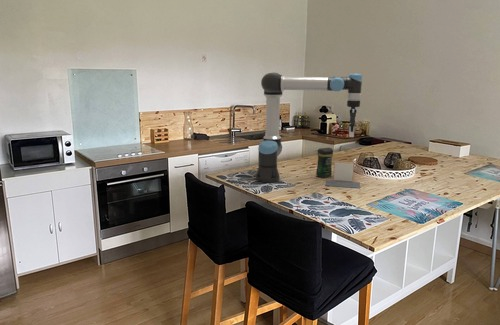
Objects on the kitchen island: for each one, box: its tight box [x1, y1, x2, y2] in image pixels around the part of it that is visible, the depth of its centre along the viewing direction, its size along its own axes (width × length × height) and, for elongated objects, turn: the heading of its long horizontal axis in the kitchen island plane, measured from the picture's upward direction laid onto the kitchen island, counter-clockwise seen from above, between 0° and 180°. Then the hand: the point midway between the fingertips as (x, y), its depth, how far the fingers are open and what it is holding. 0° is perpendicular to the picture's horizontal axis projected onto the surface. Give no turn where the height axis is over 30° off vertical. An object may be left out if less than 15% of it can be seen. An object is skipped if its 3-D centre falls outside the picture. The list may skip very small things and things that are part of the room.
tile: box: [332, 160, 355, 182], centre depth 233 cm, size 12×2×12 cm, turn 76°
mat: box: [325, 179, 361, 189], centre depth 228 cm, size 20×11×1 cm, turn 76°
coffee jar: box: [315, 147, 334, 178], centre depth 243 cm, size 10×8×19 cm
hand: (351, 135), depth 232 cm, fingers open, 13 cm apart
